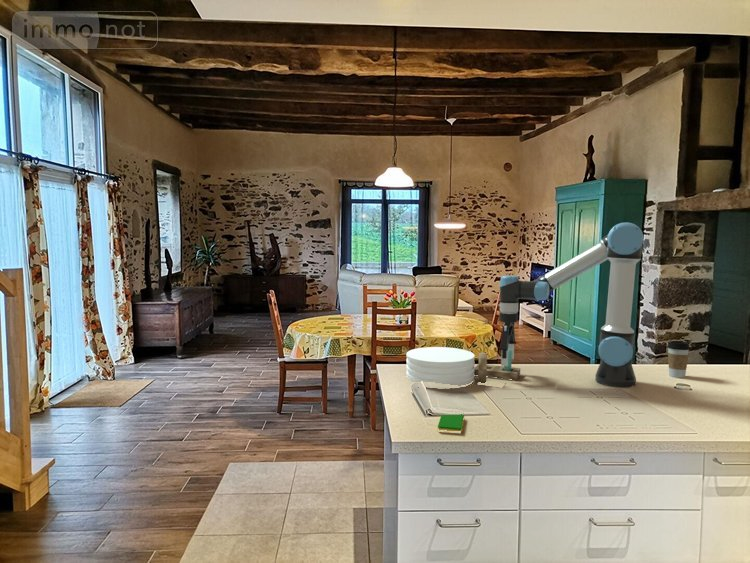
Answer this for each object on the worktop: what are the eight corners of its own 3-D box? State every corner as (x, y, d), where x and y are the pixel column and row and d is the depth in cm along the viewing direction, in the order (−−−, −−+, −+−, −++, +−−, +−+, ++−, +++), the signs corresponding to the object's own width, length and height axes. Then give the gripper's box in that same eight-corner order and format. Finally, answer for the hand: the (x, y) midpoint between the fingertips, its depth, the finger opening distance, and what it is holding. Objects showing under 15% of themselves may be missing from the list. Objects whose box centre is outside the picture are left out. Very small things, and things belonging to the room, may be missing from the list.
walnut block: (520, 376, 220) (520, 368, 219) (516, 382, 211) (516, 373, 210) (478, 371, 227) (478, 363, 227) (472, 377, 218) (473, 369, 218)
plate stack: (397, 375, 223) (397, 349, 222) (457, 370, 230) (457, 345, 229) (420, 393, 196) (420, 364, 195) (486, 388, 203) (487, 359, 202)
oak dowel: (487, 382, 209) (487, 353, 208) (485, 384, 206) (485, 354, 205) (479, 381, 210) (479, 352, 209) (477, 383, 207) (477, 354, 206)
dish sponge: (464, 420, 168) (464, 413, 167) (461, 436, 154) (461, 428, 154) (442, 418, 169) (442, 411, 169) (437, 433, 156) (437, 426, 156)
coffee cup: (668, 378, 217) (670, 343, 215) (663, 373, 225) (665, 339, 223) (691, 379, 214) (692, 344, 213) (685, 374, 222) (687, 340, 221)
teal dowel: (511, 377, 218) (512, 349, 217) (510, 379, 215) (511, 351, 214) (504, 376, 219) (504, 348, 218) (502, 378, 216) (503, 350, 215)
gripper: (505, 308, 228) (504, 355, 229) (493, 315, 205) (492, 367, 207) (522, 309, 224) (521, 356, 226) (512, 317, 202) (511, 369, 204)
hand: (507, 362), depth 217 cm, fingers open, 13 cm apart
